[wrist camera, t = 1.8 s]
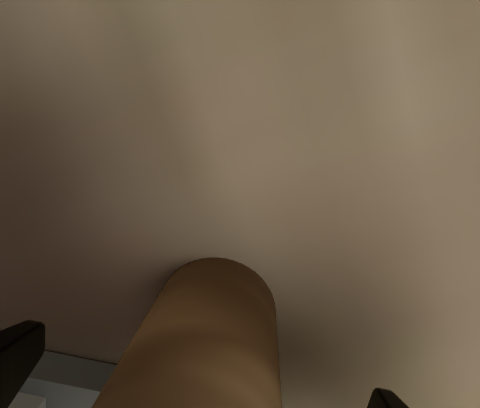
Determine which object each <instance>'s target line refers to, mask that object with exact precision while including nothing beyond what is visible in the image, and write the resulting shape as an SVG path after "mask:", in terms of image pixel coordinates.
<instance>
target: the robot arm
mask: <svg viewBox="0 0 480 408" xmlns="http://www.w3.org/2000/svg"><path fill="white" fill-rule="evenodd" d="M44 350H45V325H44V323H42V322H38V321H33V320H27V321H24V322H21V323H19V324H16V325H14V326H11V327H9V328H6V329H4V330H1V331H0V408H8V407H9V406H10V404H11V403H12V401H13V400H14V398H15V397H16V395H17V394H18V392H19V391H20V389H21V388H22V386H23V385H24V383H25V382H26V380H27V379H28V377H29V376H30V374H31V373H32V371H33V370H34V368H35V366H36V365H37V363H38V362H39V360H40V359H41V357H42V355H43V353H44ZM367 408H409V407H408V406H407V405H406V404H405V403H404V402H403V401H402V400H401V399H400V398H399V397H398V396H397V395H396V394H395V393H393V392H392V391H391V390H387V389H382V388H375V389H374V390H373V392H372V395H371V398H370V401H369V404H368V406H367Z"/></svg>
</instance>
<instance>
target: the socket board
mask: <svg viewBox="0 0 480 408" xmlns="http://www.w3.org/2000/svg"><path fill="white" fill-rule="evenodd" d="M116 366H117V365H114V364H109V363H104V362H99V361H94V360H89V359H84V358H79V357H74V356H69V355H64V354H59V353H54V352H49V351H44V353H43V355H42V357H41V359H40V360H39V362H38V363H37V365H36V366H35V368H34V370H33V371H32V373H31V374H30V376H29V377H28V379H27V380H26V382H25V383H24V385H23V386H22V388H21V389H20V391H19V392H18V394H17V395H16V397H15V398H14V400H13V401H12V403H11V404H10V406H9V407H8V408H91V407H92V406H93V404H94V402H95V401H96V399H97V397H98V396H99V394H100V392H101V391H102V389H103V387H104V386H105V384H106V382H107V381H108V379H109V377H110V376H111V374H112V372H113V371H114V369H115V367H116Z"/></svg>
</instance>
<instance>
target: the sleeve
mask: <svg viewBox="0 0 480 408" xmlns="http://www.w3.org/2000/svg"><path fill="white" fill-rule="evenodd" d="M91 408H282V403H281V387H280V372H279V356H278V340H277V325H276V309H275V303H274V299H273V296H272V294H271V291H270V289H269V288H268V286H267V285H266V283H265V282H264V281H263V279H262V278H261V277H260V276H259V275H258V274H257V273H255V272H254V271H253V270H251V269H250V268H248V267H247V266H245V265H243V264H241V263H238V262H236V261H233V260H229V259H223V258H205V259H199V260H195V261H193V262H190V263H188V264H186V265H184V266H182V267H181V268H179V269H178V270H177V271H176V272H175V273H174V274H173V275H172V276H171V277H170V278H169V279H168V281H167V282H166V284H165V285H164V287H163V289H162V290H161V292H160V294H159V295H158V297H157V299H156V300H155V302H154V304H153V305H152V307H151V309H150V310H149V312H148V314H147V315H146V317H145V319H144V320H143V322H142V324H141V325H140V327H139V329H138V330H137V332H136V334H135V335H134V337H133V339H132V340H131V342H130V344H129V345H128V347H127V349H126V350H125V352H124V354H123V356H122V357H121V359H120V361H119V362H118V364H117V366H116V367H115V369H114V371H113V372H112V374H111V376H110V377H109V379H108V381H107V382H106V384H105V386H104V387H103V389H102V391H101V392H100V394H99V396H98V397H97V399H96V401H95V402H94V404H93V406H92V407H91Z"/></svg>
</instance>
